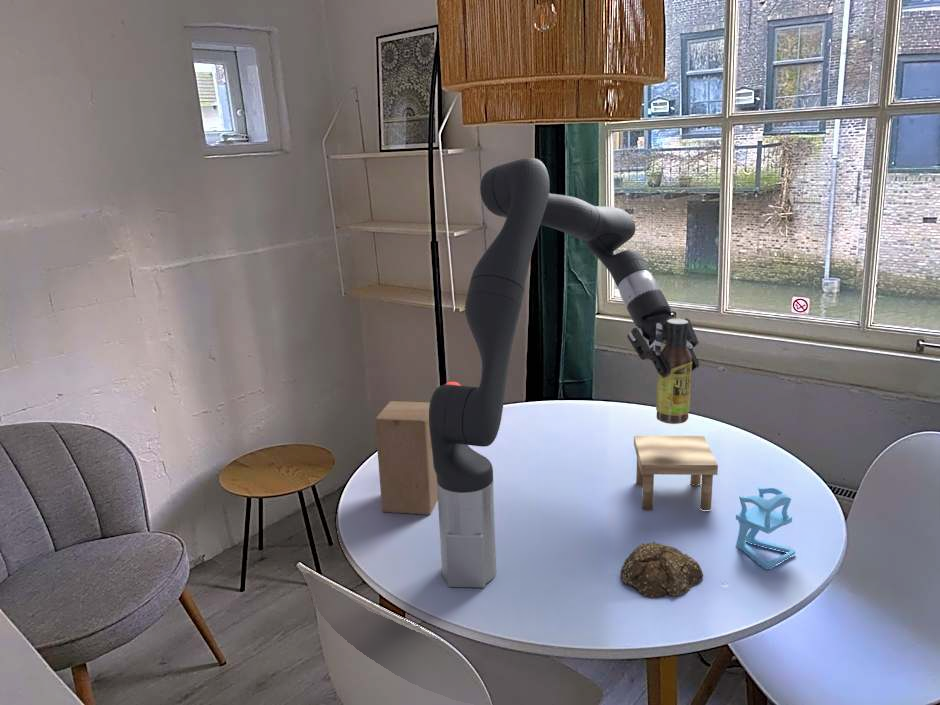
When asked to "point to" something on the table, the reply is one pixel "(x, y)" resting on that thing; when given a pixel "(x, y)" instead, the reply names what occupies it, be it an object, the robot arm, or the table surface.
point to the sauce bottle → (675, 375)
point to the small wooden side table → (674, 464)
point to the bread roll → (660, 570)
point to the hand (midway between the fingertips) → (681, 371)
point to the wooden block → (406, 458)
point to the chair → (763, 523)
